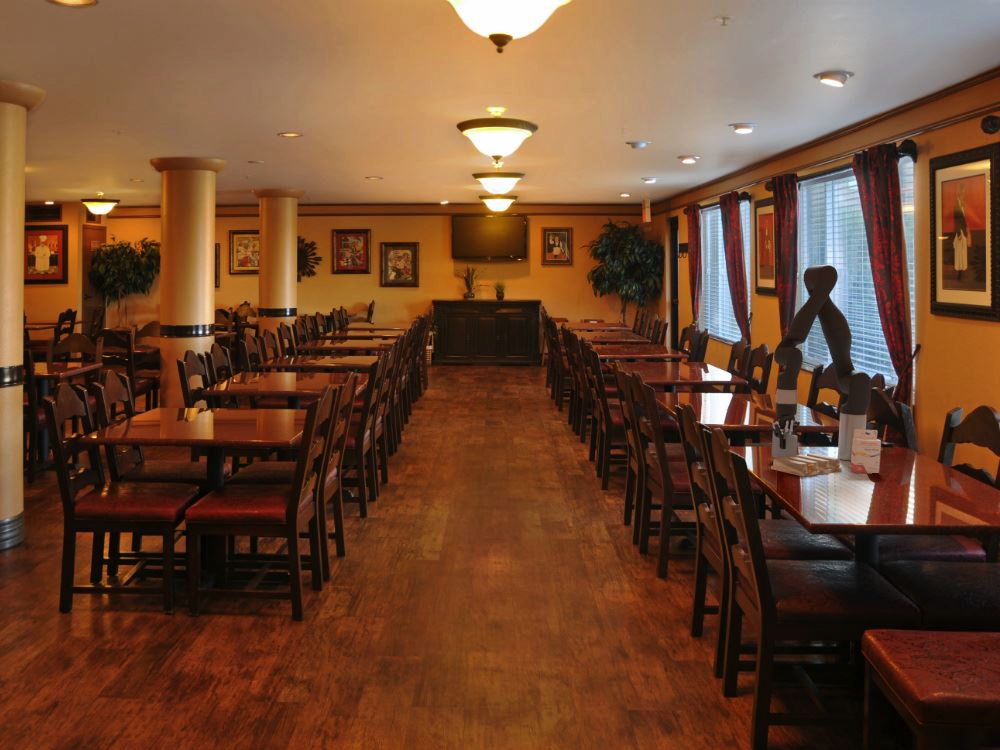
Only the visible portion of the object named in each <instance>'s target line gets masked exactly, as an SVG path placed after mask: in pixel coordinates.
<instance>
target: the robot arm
mask: <svg viewBox="0 0 1000 750" xmlns="http://www.w3.org/2000/svg"><path fill="white" fill-rule="evenodd" d="M802 277H803V284H804V286H805V289H806V291H807V293H808V295H809V297H808V299H807V300H806V302H805V303H804V304H803V305H802V306H801V307H800V309H799V310H798V311H797V313H796V314H795V315H794V316H793V318H792V321H791V323H790V325H789V328H788V329H787V330H788V331H787V332H786V334H785V336H783V338H781V341H780V342H779V343H778V344H777V345H776V348H775V350H774V353H773V359H774V362H775V364H777V365H779V366H782V367H783V366H784V367H785V368H784V371H783V372H780V373H778V375H777V380H776V391H775V403H774V405H775V409H774V413H775V415H776V419H775V422H773V423H771V424H770V427H771V429H772V433H773V432H774V434H775V437H778V438H779V439H780V443H779V446H780V449H785V448H786V434H791V435H796V433H797V431H798V429H799V426H800V424H801V423H800V421H797V420H796V417H795V416H796V415H797V413H798V378H799V375H800V372H801V368H802V365H803V361H804V356H803V352H802V350H801V349H800V348H799V347H798V345H801V344H804V343H805V342H807V339H808V336H809V333H810V331H811V329H812V327H813V325H814V322H815V320H816V318H818V321H819V324H820V327H821V330H822V334H823V337H824V340H825V342H826V345H827V348H828V351H829V354H830V357H831V360H832V364H833V369H834V373H835V378H836V384H837V386H838V388H839V390H840V391H841V392H842V393H844V394H845V395H847V401H846V402H845V403H844V404H841V406H840V410H839V411H840V413H839V427H838V431H839V432H838V445H837V446H838V447H837V448H838V449H837V459H840V460H843V461H850V462H851V455H852V441H853V436H854V430H855V429H860V430H861V429H862V430H867V429H866V428H867V417H868V416H867V412H868V409H869V408H870V407H869V406H870V403H871V396H872V395H871V394H872V380H871V376H870V375H869V374H868V373H867V372H865V371H860V370H856V369H855V366H854V364H853V360H852V357H851V348H852V342H853V339H852V331H851V329H850V325H849V323H848V320H847V318H846V316H845V315H844V313H842V311H841V310H840V308H838V306H837V305H836V304H835V303H834V302H833V300H832V299H831V296H830V295H831V293H832V292H833V290H834V288H835V287H836V285H837V281H838V278H839V274H838V270H837V269H836V268H835V267H834V266H833V265H830V264H820V265H818V264H817V265H810V266H809V267H807V268H806V269H805V271H803V276H802ZM782 433H783V435H782ZM861 434H863V435H868V433H867V432H865V433H861Z"/></svg>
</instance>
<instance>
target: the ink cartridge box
mask: <svg viewBox="0 0 1000 750" xmlns="http://www.w3.org/2000/svg"><path fill="white" fill-rule="evenodd" d="M865 432H866V433H865ZM861 433H865V434H867V435H863V434H861ZM878 433H879V432H878V429H866V430H862V429H861V430H860V429H855V430H854V436H853V441H852V455H851V461H850V471H851V472H853V473H854V474H855V473H856V474H858V473H859V474H872V473H879V474H880V464H881V451H882V440H880V439H878Z"/></svg>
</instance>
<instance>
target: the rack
mask: <svg viewBox="0 0 1000 750" xmlns="http://www.w3.org/2000/svg"><path fill="white" fill-rule="evenodd" d="M772 463H773V464H772V465H771V466H770V469H771V470H774V471H779V472H782V473H785V474H792V475H794V476H795V475H796V476H800V477H808V476H815V475H822V474H829V473H836V472H842V471H843V468H842V467H840V465H841V459H839V458H838V457H837V458H836V457H831V456H826V455H823V454H817V453H806V455H804V454H797V455H796V457H792V456H787V457H785V459H784V458H778V457H773V461H772Z"/></svg>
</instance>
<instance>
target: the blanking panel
mask: <svg viewBox="0 0 1000 750" xmlns="http://www.w3.org/2000/svg"><path fill="white" fill-rule="evenodd" d="M782 435H783V433H782ZM798 440H799V439H798V435H796V434H795V435H791V434H786V448H785V449H780V446H779V443H780V439H779V438H778V437H775V434H774V432H773V431H772V441H771V442H772V444H771V457H773V458H784V459H785V457H787V456H792V457H796V455H798Z"/></svg>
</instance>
